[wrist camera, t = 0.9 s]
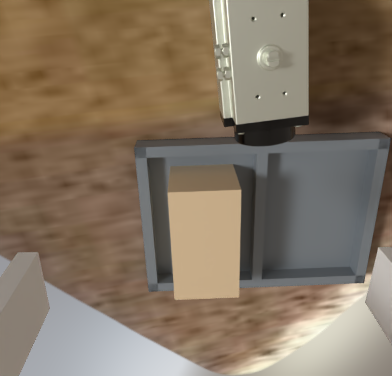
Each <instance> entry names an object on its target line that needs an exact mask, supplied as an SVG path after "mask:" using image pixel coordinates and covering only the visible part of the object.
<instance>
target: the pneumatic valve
mask: <svg viewBox="0 0 392 376" xmlns="http://www.w3.org/2000/svg"><path fill="white" fill-rule="evenodd" d="M209 4H210V14H211V24H212V34H213V45H214V55H215V65H216V75H217V85H218V95H219V106H220V116H221V119H222V122H223V125H224V127H228V126H233V127H234V134H235V140H236V142H238V143H239V144H242V145H246V146H257V147H260V146H273V145H278V144H282V143H285V142H288V141H290V140H292V139H293V138H294V137H295V127H300V126H302V125H308V124H309V0H209Z"/></svg>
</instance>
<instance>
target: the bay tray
mask: <svg viewBox="0 0 392 376" xmlns="http://www.w3.org/2000/svg"><path fill="white" fill-rule="evenodd" d="M390 141H391V138H389V137H388V136H386V135H384V134H383V133H381V132H359V133H331V134H303V135H295V137H294V138H293V139H292V140H290V141H288V142H285V143H282V144H278V145H273V146H260V147H257V146H246V145H242V144H239V143H238V142H236V140H235V137H220V138H192V139H164V140H137V142H136V145H135V147H134V150H135V159H136V169H137V179H138V189H139V199H140V209H141V219H142V229H143V239H144V249H145V259H146V268H147V278H148V288H149V292H150V291H174V297H175V300H184V299H208V298H233V297H239V288H249V287H274V286H299V285H324V284H349V283H364V280H365V274H366V269H367V264H368V258H369V253H370V248H371V242H372V237H373V232H374V226H375V221H376V216H377V210H378V205H379V200H380V194H381V189H382V184H383V178H384V173H385V168H386V162H387V157H388V152H389V146H390Z"/></svg>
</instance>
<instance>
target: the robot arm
mask: <svg viewBox="0 0 392 376" xmlns="http://www.w3.org/2000/svg"><path fill="white" fill-rule="evenodd" d="M365 303H366V304H367V306H368V308H369V309H370V311H371V312H372V314H373V316H374V317H375V319H376V320H377V322H378V324H379V325H380V327H381V328H382V330H383V332H384V333H385V335H386V336H387V338H388V340H389V341H390V343H391V344H392V247H378V251H377V256H376V260H375V264H374V268H373V272H372V276H371V280H370V285H369V289H368V293H367V297H366V301H365ZM49 309H50V307H49V302H48V297H47V293H46V288H45V283H44V278H43V273H42V269H41V264H40V259H39V254H38V252H21V253H17V254H16V256H15V257H14V259H13V260H12V261H11V263H10V264H9V266H8V267H7V269H6V270H5V272H4V273H3V274H2V276H1V277H0V376H19V374H20V372H21V370H22V368H23V366H24V363H25V361H26V359H27V357H28V355H29V352H30V350H31V348H32V346H33V344H34V342H35V340H36V337H37V335H38V333H39V331H40V329H41V326H42V324H43V322H44V319H45V318H46V315H47V313H48V311H49Z"/></svg>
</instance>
